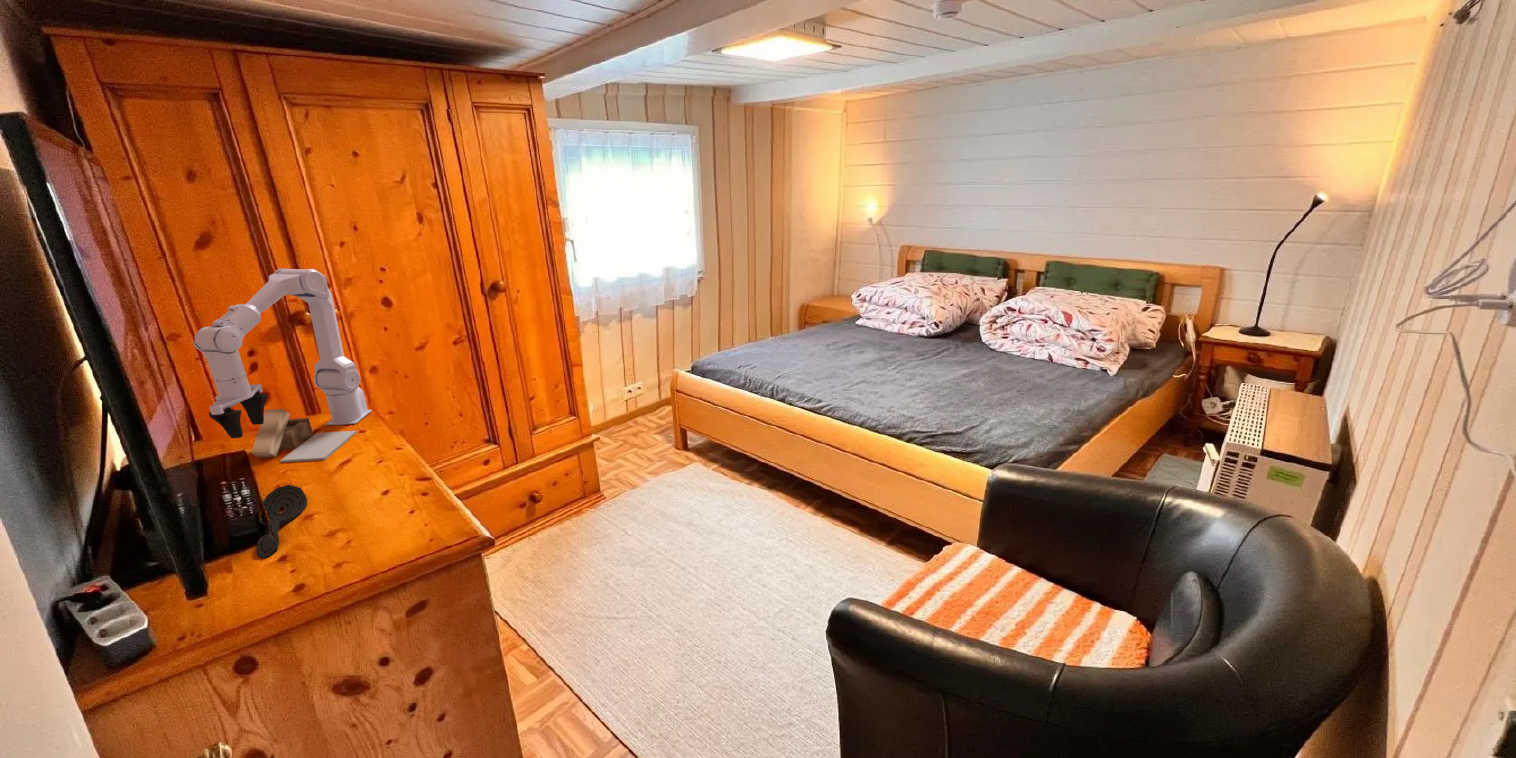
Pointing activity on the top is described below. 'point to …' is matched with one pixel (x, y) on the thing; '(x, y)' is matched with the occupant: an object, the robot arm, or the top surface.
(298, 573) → the top surface
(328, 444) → the mat
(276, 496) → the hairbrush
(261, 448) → the bar
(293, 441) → the holder
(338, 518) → the top surface
